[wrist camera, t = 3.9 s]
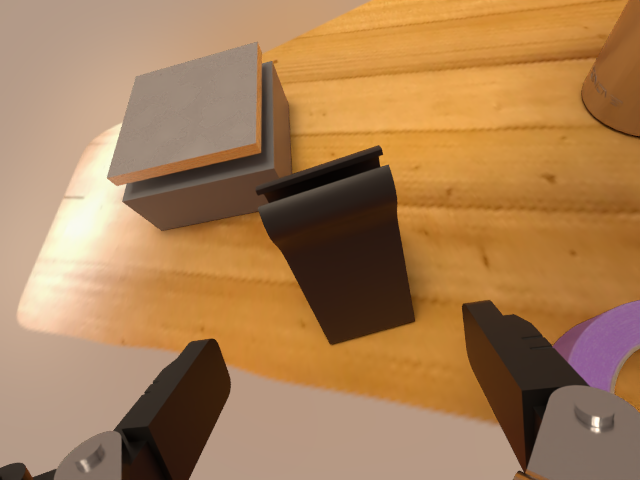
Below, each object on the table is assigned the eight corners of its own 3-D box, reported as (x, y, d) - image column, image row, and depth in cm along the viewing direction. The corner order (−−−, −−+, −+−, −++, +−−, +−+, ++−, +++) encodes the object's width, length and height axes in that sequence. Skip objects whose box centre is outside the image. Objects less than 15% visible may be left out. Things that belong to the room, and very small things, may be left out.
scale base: (288, 98, 36) (272, 55, 31) (293, 204, 29) (274, 168, 25) (179, 126, 38) (150, 89, 33) (161, 230, 31) (122, 201, 27)
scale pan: (261, 52, 30) (257, 41, 29) (261, 152, 24) (255, 143, 23) (143, 85, 32) (135, 76, 31) (116, 186, 26) (106, 178, 25)
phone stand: (306, 236, 27) (245, 130, 17) (376, 215, 27) (358, 91, 16) (330, 345, 23) (269, 291, 13) (414, 322, 22) (424, 246, 12)
